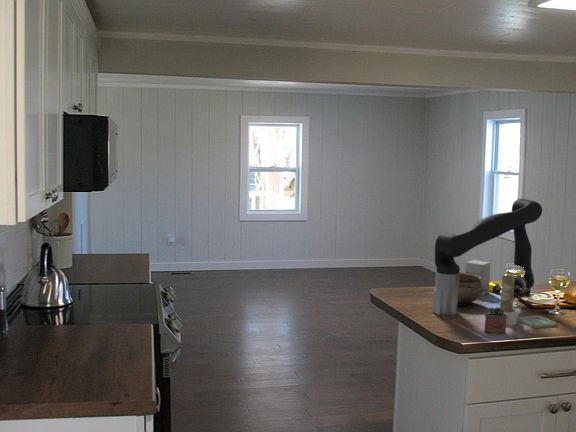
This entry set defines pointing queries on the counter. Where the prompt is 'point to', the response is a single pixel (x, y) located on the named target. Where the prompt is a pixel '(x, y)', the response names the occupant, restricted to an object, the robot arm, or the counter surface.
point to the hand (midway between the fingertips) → (508, 293)
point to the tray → (536, 321)
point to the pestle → (507, 293)
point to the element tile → (495, 284)
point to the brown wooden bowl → (469, 288)
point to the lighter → (495, 321)
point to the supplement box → (480, 272)
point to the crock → (511, 317)
